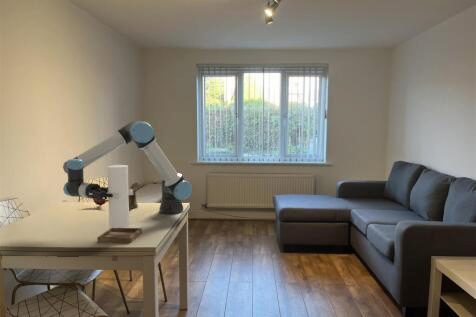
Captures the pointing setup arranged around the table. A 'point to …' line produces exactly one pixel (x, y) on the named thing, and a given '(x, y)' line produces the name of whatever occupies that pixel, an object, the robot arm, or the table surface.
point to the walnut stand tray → (120, 235)
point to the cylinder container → (121, 205)
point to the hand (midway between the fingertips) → (125, 194)
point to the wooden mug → (133, 197)
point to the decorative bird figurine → (100, 201)
